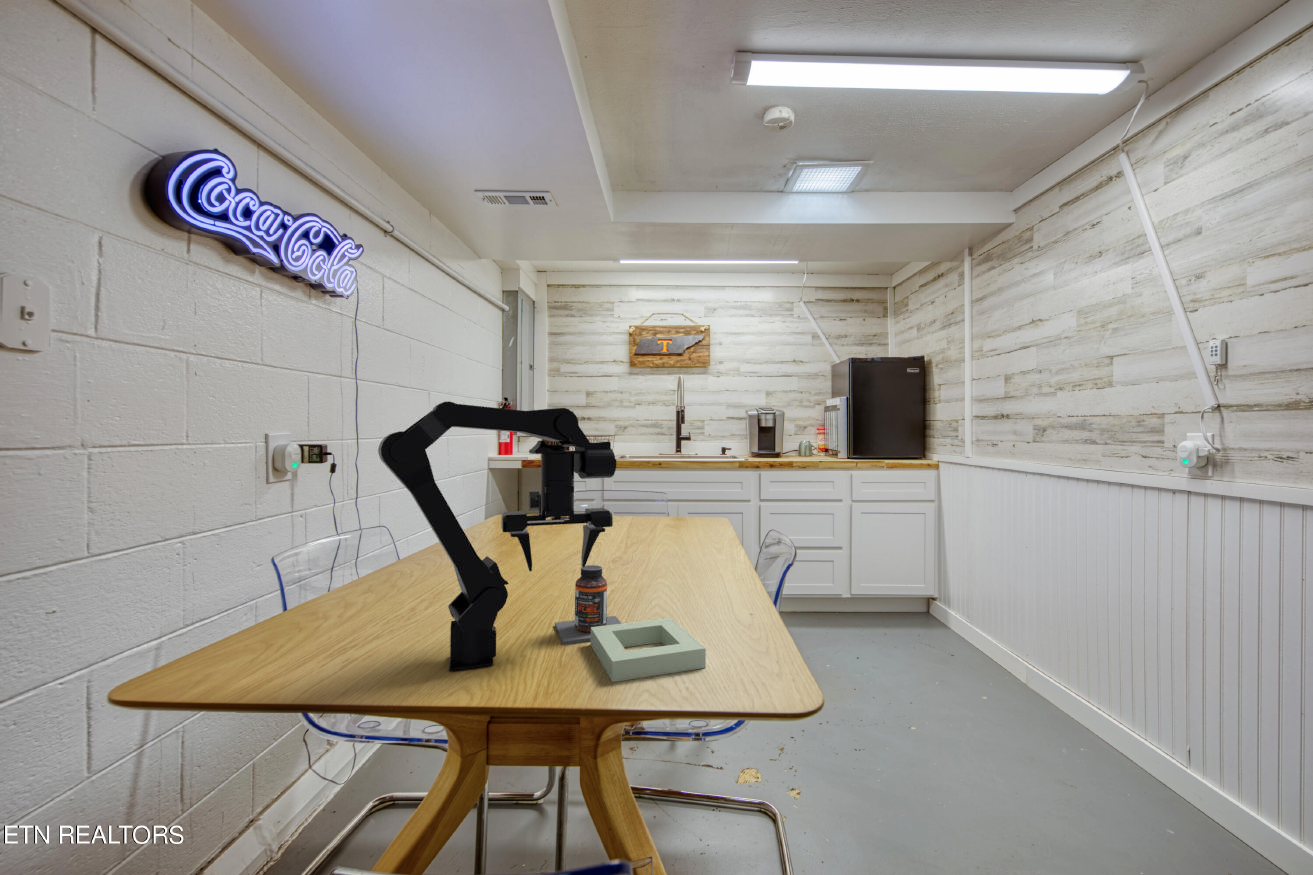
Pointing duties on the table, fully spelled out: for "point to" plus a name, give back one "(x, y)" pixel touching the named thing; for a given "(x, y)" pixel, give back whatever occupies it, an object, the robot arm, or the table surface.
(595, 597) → the supplement bottle
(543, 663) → the table surface
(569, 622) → the mat
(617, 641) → the square frame
